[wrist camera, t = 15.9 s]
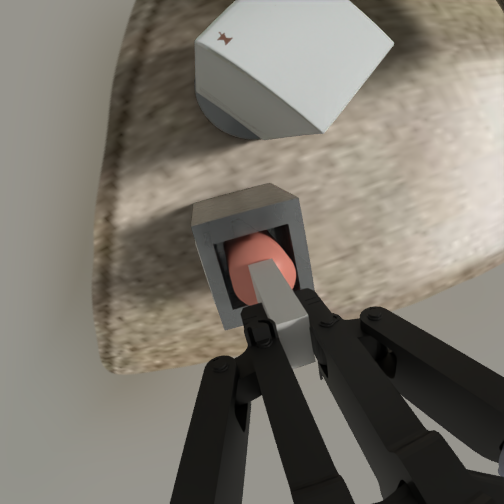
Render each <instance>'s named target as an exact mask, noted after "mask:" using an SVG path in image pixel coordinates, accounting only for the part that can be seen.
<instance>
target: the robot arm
mask: <svg viewBox="0 0 504 504" xmlns="http://www.w3.org/2000/svg"><path fill="white" fill-rule="evenodd" d="M496 1H497V2H498V4H499V6H500V7H501V9H502V10H503V12H504V0H496ZM248 267H249V271H250V275H251V279H252V283H253V287H254V290H255V294H256V298H257V302H258V304H254V305H251V306H247V307H244V308H243V309H242V311H241V318H242V322H243V326H244V334H245V337H246V340H247V343H248V347H247V349H246V351H245V352H244V353H243V354H241V355H240V356H238V357H236V358H235V359H234V358H233V357H230V356H219V357H215V358H214V359H212V360H210V361H209V362H208V363H207V365H206V366H205V369H204V373H203V376H202V381H201V384H200V388H199V392H198V395H197V399H196V403H195V407H194V410H193V414H192V418H191V422H190V426H189V430H188V434H187V438H186V441H185V445H184V449H183V453H182V457H181V461H180V465H179V469H178V473H177V477H176V481H175V485H174V489H173V493H172V497H171V501H170V504H242V496H243V486H244V476H245V464H246V455H247V444H248V434H249V423H250V412H251V401H252V400H254V399H256V398H258V397H259V396H261V395H262V396H263V400H264V403H265V407H266V411H267V414H268V417H269V421H270V424H271V428H272V431H273V434H274V438H275V441H276V444H277V448H278V451H279V454H280V458H281V461H282V464H283V467H284V471H285V474H286V477H287V480H288V484H289V487H290V490H291V495H292V499H293V502H294V504H355V503H354V501H353V499H352V496H351V494H350V492H349V490H348V488H347V486H346V483H345V482H344V479H343V478H342V477H341V476H340V475H339V474H338V472H337V470H336V468H335V466H334V464H333V461H332V459H331V457H330V455H329V452H328V450H327V448H326V445H325V443H324V441H323V439H322V436H321V434H320V432H319V430H318V427H317V425H316V423H315V420H314V418H313V416H312V414H311V411H310V409H309V407H308V405H307V402H306V400H305V398H304V395H303V393H302V390H301V388H300V386H299V384H298V381H297V379H296V377H295V374H294V372H293V370H292V369H295V368H298V367H301V366H304V365H307V364H310V363H313V362H315V356H316V358H317V360H318V366H319V374H320V379H321V380H322V379H323V378H322V375H323V377H324V379H325V381H326V383H327V385H328V387H329V389H330V391H331V392H332V394H333V396H334V398H335V400H336V402H337V404H338V406H339V407H340V409H341V411H342V413H343V415H344V417H345V419H346V421H347V423H348V425H349V427H350V429H351V430H352V432H353V434H354V436H355V438H356V440H357V442H358V444H359V445H360V447H361V450H362V451H363V453H364V455H365V457H366V459H367V461H368V463H369V465H370V467H371V469H372V471H373V472H374V474H375V476H376V478H377V480H378V482H379V485H380V491H381V495H382V497H383V501H381V502H378V503H373V504H504V377H502V376H501V375H499V374H497V373H496V372H494V371H492V370H491V369H489V368H487V367H485V366H484V365H482V364H480V363H478V362H477V361H475V360H474V359H472V358H470V357H468V356H466V355H465V354H463V353H461V352H460V351H458V350H456V349H455V348H453V347H451V346H450V345H448V344H446V343H444V342H443V341H441V340H439V339H438V338H436V337H434V336H432V335H431V334H429V333H427V332H425V331H424V330H422V329H420V328H418V327H417V326H415V325H413V324H411V323H410V322H408V321H406V320H404V319H403V318H401V317H399V316H397V315H395V314H394V313H392V312H390V311H389V310H387V309H385V308H382V307H376V306H375V307H369V308H367V309H365V310H363V311H362V312H361V314H360V318H359V319H352V320H343V319H342V318H341V317H340V316H339V315H337V314H334V313H331V312H330V310H329V309H328V308H327V306H326V305H325V304H324V303H323V301H322V300H321V299H320V297H318V295H317V293H316V292H315V291H314V290H311V289H309V288H305V289H302V290H299V291H295V292H293V290H292V289H291V287H290V286H289V284H288V282H287V281H286V279H285V278H284V276H283V275H282V273H281V272H280V270H279V268H278V267H277V265H276V264H275V262H274V261H273V259H272V258H271V259H268V260H264V261H261V262H257V263H254V264H250V265H248ZM314 355H315V356H314ZM400 394H401V395H402V396H403V397H405V398H406V399H407V400H408V401H410V402H411V403H412V404H414V405H415V406H416V407H417V408H419V409H420V410H421V411H423V412H424V413H425V414H426V415H428V416H429V417H430V418H432V419H433V420H434V421H435V422H437V423H438V424H439V425H441V426H442V427H443V428H445V429H446V430H447V431H448V432H450V433H451V434H452V435H454V436H455V437H456V438H458V439H459V440H460V441H462V442H463V443H464V444H466V445H467V446H468V447H470V448H471V449H472V450H474V451H475V452H477V453H478V454H480V455H481V456H483V457H485V458H487V459H489V460H491V461H494V462H497V463H499V469H498V473H499V475H500V476H496V475H491V474H486V473H481V472H476V471H472V470H468V469H466V468H465V467H464V465H463V464H462V462H461V461H460V460H459V458H458V457H457V456H456V454H455V453H454V451H453V450H452V449H451V447H450V446H449V445H448V443H447V442H446V441H445V439H444V438H443V437H442V435H441V434H439V432H436V431H435V430H433V431H428V430H426V428H425V427H424V426H423V425H422V423H421V422H420V420H419V419H418V418H417V416H416V415H415V414H414V412H413V411H412V409H411V408H410V407H409V406H408V404H407V403H406V402H405V400H404V399H403V397H402V396H401V395H400Z"/></svg>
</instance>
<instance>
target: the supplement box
mask: <svg viewBox="0 0 504 504" xmlns="http://www.w3.org/2000/svg"><path fill="white" fill-rule="evenodd" d="M393 45H394V42H393V41H392V40H391V39H390V38H389V37H388V36H387V35H386V34H385V33H384V32H383V31H382V30H381V29H380V28H379V27H378V26H377V25H376V24H375V23H374V22H373V21H372V20H371V19H370V18H368V17H367V16H366V15H365V14H364V13H363V12H362V11H361V10H360V9H358V8H357V7H356V6H355V5H354V4H353V3H351V2H350V1H349V0H236V1H234V2H233V3H232V4H231V5H230V6H229V7H228V8H227V9H226V10H225V11H224V12H223V13H222V14H221V15H220V16H219V17H218V18H216V19H215V20H214V21H213V22H212V23H211V24H210V25H209V26H208V27H207V28H206V30H205V31H204V32H203V33H201V34H200V35H199V36H198V37H197V39H196V40H195V77H196V92H197V93H199V94H200V95H202V96H203V97H205V98H206V99H207V100H209V101H210V102H212V103H213V104H215V105H216V106H218V107H219V108H220V109H222V110H223V111H225V112H226V113H227V114H229V115H230V116H232V117H233V118H234V119H236V120H237V121H238V122H240V123H241V124H242V125H244V126H245V127H246V128H248V129H249V130H250V131H252V132H253V133H254V134H256V135H257V136H258V137H260V138H261V139H262V140H269V139H277V138H284V137H293V136H301V135H310V134H323V133H325V132H326V131H327V129H328V128H329V127H330V126H331V124H332V123H333V122H334V121H335V120H336V118H337V117H338V116H339V114H340V113H341V112H342V111H343V109H344V108H345V107H346V106H347V104H348V103H349V102H350V100H351V99H352V98H353V96H354V95H355V94H356V93H357V91H358V90H359V89H360V88H361V86H362V85H363V84H364V82H365V81H366V80H367V79H368V77H369V76H370V75H371V74H372V72H373V71H374V70H375V68H376V67H377V66H378V65H379V63H380V62H381V61H382V59H383V58H384V57H385V56H386V54H387V53H388V52H389V50H390V49H391V48H392V46H393Z"/></svg>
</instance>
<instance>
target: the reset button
mask: <svg viewBox="0 0 504 504" xmlns="http://www.w3.org/2000/svg"><path fill="white" fill-rule="evenodd" d="M224 252H225V256H226V261H227V265H228V269H229V273H230V277H231V281H232V285H233V289H234V292H235V293H236V295H237V297H238V298H239V299H240V300H241V301H242V302H244V303H245V304H247V305H250V306H251V305H254V304H258V302H257V298H256V294H255V290H254V287H253V283H252V279H251V275H250V271H249V267H248V265H250V264H254V263H257V262H261V261H264V260H268V259H271V258H272V259H273V261H274V262H275V264H276V265H277V267H278V268H279V270H280V272H281V273H282V275H283V276H284V278H285V279H286V281H287V282H288V284H289V286H290V287H291V289H293V287H294V284H295V280H296V270H295V266H294V264H293V262H292V261H291V259H290V258H289V257H288V255H287V254H286V253H285V252H284V250H283V249H282V248H281V247H280V245H279V244H278V243H277V241H276V240H275V239H274V238H273V236H272V235H271V234H270V233H269V231H268V230H263V231H259V232H256V233H252V234H248V235H245V236H241V237H238V238H234V239H230V240H227V241H224Z"/></svg>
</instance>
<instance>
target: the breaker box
mask: <svg viewBox="0 0 504 504" xmlns="http://www.w3.org/2000/svg"><path fill="white" fill-rule="evenodd" d="M191 228H192V232H193V235H194V238H195V244H196V247H197V250H198V253H199V257H200V260H201V263H202V266H203V269H204V272H205V275H206V278H207V281H208V284H209V288H210V291H211V294H212V297H213V299H214V302H215V304H216V306H217V309H218V312H219V315H220V318H221V321H222V324H223V327H224V329H225V330H228V329H232V328H236V327H239V326H243V322H242V318H241V311H242V309H243V308H244V307H247V306H250V305H247V304H245V303H244V302H242V301H241V300H240V299H239V298H238V297H237V295H236V293H235V292H234V289H233V285H232V281H231V277H230V273H229V269H228V265H227V261H226V256H225V252H224V241H227V240H230V239H234V238H238V237H241V236H245V235H248V234H252V233H256V232H259V231H263V230H268V231H269V233H270V234H271V235H272V236H273V238H274V239H275V240H276V241H277V243H278V244H279V245H280V247H281V248H282V249H283V250H284V252H285V253H286V254H287V255H288V257H289V258H290V259H291V261H292V262H293V264H294V266H295V270H296V280H295V284H294V287H293V289H292V290H293V292H295V291H299V290H302V289H305V288H309V289H311V290H314V284H313V277H312V271H311V265H310V259H309V253H308V247H307V241H306V235H305V230H304V224H303V219H302V213H301V208H300V203H299V198H298V197H296V196H294V195H293V194H291V193H289V192H287V191H285V190H283V189H281V188H279V187H277V186H276V185H274V184H272V183H268V184H264V185H260V186H256V187H252V188H248V189H244V190H241V191H237V192H233V193H229V194H225V195H222V196H218V197H214V198H211V199H207V200H204V201H200V202H197V203H194V204H193V213H192V222H191ZM314 291H315V290H314Z"/></svg>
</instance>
